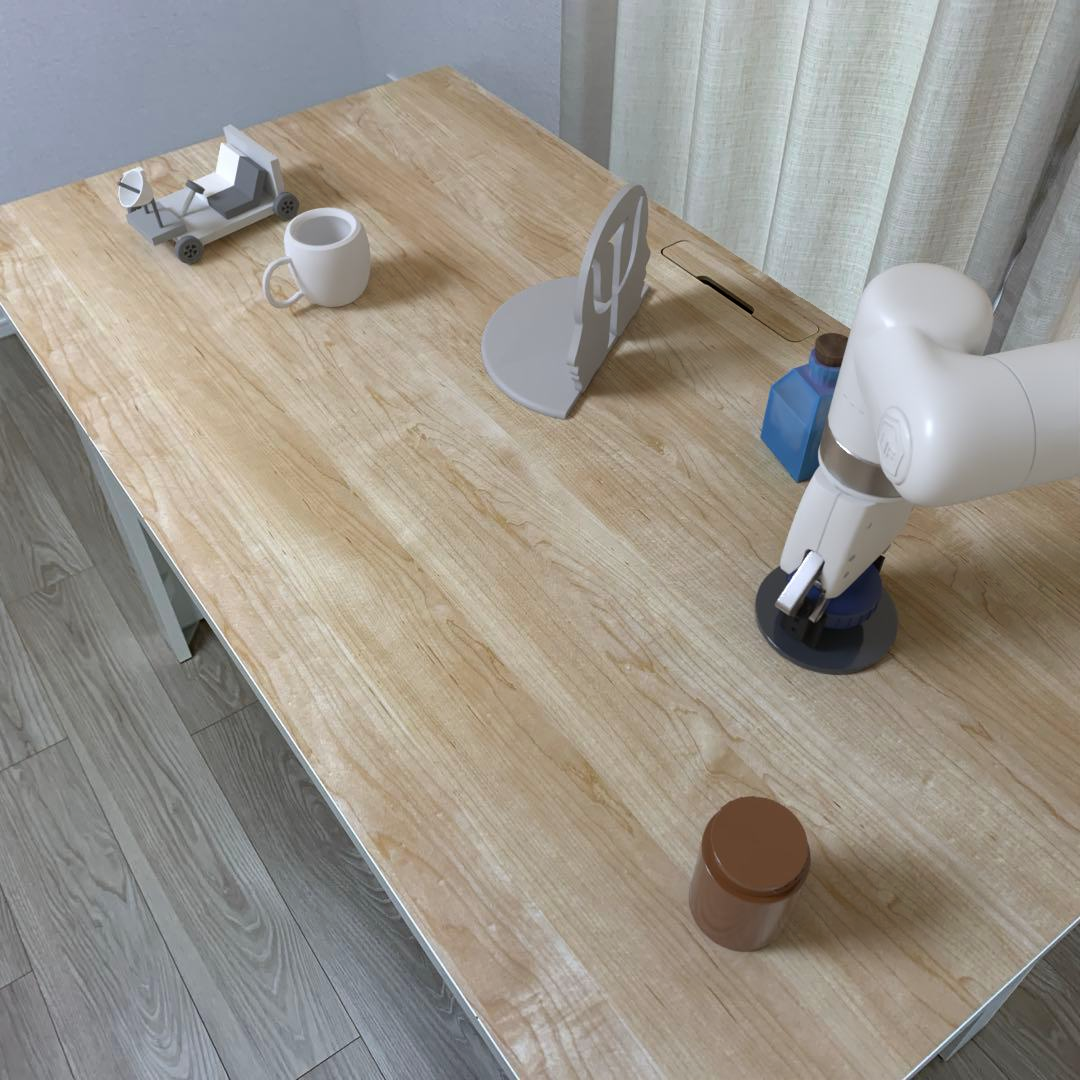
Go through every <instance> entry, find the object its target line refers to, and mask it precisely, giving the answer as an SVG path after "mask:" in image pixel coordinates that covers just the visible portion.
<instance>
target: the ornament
mask: <svg viewBox="0 0 1080 1080" xmlns="http://www.w3.org/2000/svg"><path fill="white" fill-rule="evenodd" d="M648 200H649V199H648V194H647V192H646V190H645V187H644V186H643V185H641V184H638V183H634V182H629V183H626V184H624V185H623V186H622V187H621V188H620V189H619V190H618V191H617V192H616V193H615V194H614V195H613V196H612V198H611V199H610V200H609V202H608V204H607V205H606V207H605V208H604V209H603V211H602V213H601V214H600V215H599V218H598V220H597V222H596V224H595V225H594V228H593V230H592V233H591V235H590V236H589V240H588V242H587V245H586V248H585V252H584V255H583V259H582V262H581V265H580V270H579V273H578V275H570V276H564V277H563V276H562V277H558V278H553V279H549V280H546V281H543V282H539V283H536V284H533V285H531V286H529V287H527V288H524V289H523V290H521V291H519V292H517V293H516V294H514V295H512V296H511V297H509V298H507V300H505V301H504V302H503V303H502V304H501V305H500V306H499V307H498V308H497V309H496V310H495V311H494V312H493V314H492V315H491V316H490V318H489V319H488V321H487V323H486V325H485V327H484V330H483V333H482V336H481V342H480V354H481V355H480V356H481V360H482V363H483V366H484V369H485V372H486V373H487V375H488V377H489V379H490V380H491V381H492V382H493V384H494V385H495V386H496V387H497V388H498V389H499V390H500V391H501V392H502V393H503V394H505V395H506V396H507V397H508V398H510V399H511V400H513V401H514V402H516V403H518V404H519V405H521V406H523V407H525V408H527V409H529V410H530V411H531V410H532V411H534V412H536V413H539V414H542V415H545V416H549V417H550V418H551V417H552V418H555V419H561V420H566V418H567V417H568V415H569V414H570V412H571V411H572V409H573V408H574V406H575V405H576V403H577V402H578V400H579V399H580V397H581V396H582V394H583V393H584V392H586V390H587V388H588V386H589V384H590V383H591V380H592V379H593V378H594V376H595V374H596V373H597V371H598V370H599V369H600V367H601V366H602V365H603V363H604V361H605V359H606V358H607V356H608V355H609V353H610V351H611V349H612V348H613V347H614V345H615V344H616V342H617V341H618V339H619V337H621V336H622V335H623V333H624V331H625V330H626V327H627V326H628V324H629V323H630V321H631V320H632V319H633V317H634V316H635V315H637V313H638V311H639V309H640V306H641V304H642V302H643V300H644V299H645V298H646V296H647V294H648V293H649V292H650V290H651V286H650V285H647V284H645V279H646V276H647V265H648V263H649V261H650V258H651V249H650V247H649V244H648V239H647V234H648V227H649V202H648ZM612 238H613V242H611V239H612Z"/></svg>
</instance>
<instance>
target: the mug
mask: <svg viewBox="0 0 1080 1080" xmlns="http://www.w3.org/2000/svg"><path fill="white" fill-rule="evenodd" d="M290 220H291V221H290V222H289V223H288V224H287V226H286V227H285V231H284V236H283V247H284V253H285V256H282V257H280V258H279V257H278V258H276V259H275V260H273V261H271V262H270V263H269V264H268V265H267V267H266V269H265V270H264V272H263V277H262V283H261V286H262V293H263V296H264V298H265V300H266V302H267V304H269V305H270V306H271V307H273V308H275V309H287V308H290V307H292V306H294V305H295V304H297V303H298V302H299V301H300V300H301V299H302V298H303V297H305V298H306V299H307V300H309V301H310V302H312V303H313V304H315V305H317V306H320V307H323V308H339V307H344V306H348V305H349V304H352V303H354V302H355V301H357V300H358V299H359V298H360V297H361V296H362V294H364V292H365V290H366V288H367V286H368V284H369V280H370V274H371V267H372V266H371V265H372V261H371V260H372V259H371V247H370V242H369V238H368V235H367V231H366V229H365V226H364V224H363V223H362V221H361V219H360V218H359V217H358V216H357V215H356V214H355V213H354V212H351V211H349V210H347V209H344V208H339V207H319V208H313V209H309V210H306V211H303V212H302V213H299V214H298V215H297V216H296V215H295V216H294V217H293V218H292V219H290ZM284 265H287V268H288V270H289V272H290V275H291V277H292V279H293V281H294V283H295V285H296V287H297V289H298V291H296V292H295V293H294V294H293V295H292V296H291V297H290V298H288V299H286V300H283V301H282V300H281V301H278V300H276V299H275V298H274V297H273V294H272V293H271V289H270V284H271V282H270V281H271V277H272V275H273V273H274V271H275V270H277V269H278V268H279V267H280V266H284Z"/></svg>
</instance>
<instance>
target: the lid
mask: <svg viewBox="0 0 1080 1080" xmlns="http://www.w3.org/2000/svg"><path fill="white" fill-rule="evenodd" d="M798 568H799V567H798ZM798 568H797V569H796V570H794V571H793V572H792V573H791V574H787V578H786V581H787V583H786V586H787V585H788V583H789V582H790V580H791V579H792V577H793V576H794V574H795V573H796V571H797V570H798ZM820 575H821V574H820ZM882 586H883V581H882V576H881V574H880V573H879V572H878V570H877V568H876V567H875V566H874V564H873V563H872V564H871V565H870V566H869V567H868V568H867V569H866V570H865V571H864V572H863V573H862V574H861V575H860V576H859V577H858V578H857V579H856V580H855V581H854V582H853V583H852V584H851V585H850V586H849V587H848V588H847V589H846V590H845V591H844V592H842V593H841V594H840V595H839V596H837V597H835V598H832V599H831V600H830V602H829V604H828V606H827V608H826V609H825V611H824V613H826V615H827V616H828V617H827V619H826V622H825V625H824V627H828V628H834V629H843V628H848V629H849V628H850V627H854V626H857V625H860V624H861V623H863V622H864V621H866V620H867V619H868V620H869V618H870V616H871V615H872V614H873V612H875V611H876V608H877V606H878V602H879V600H880V597H881V595H882V594H881V592H882ZM821 593H822V592H821V591H819V590H818V589H816V588H815V587H813V586H812V587H811V589H810V590H809V592H808V593H807V595H806V596H807V597H808V598H810V599H811V600H813V601H814V602H816V603H817V601H818V599H819V597H820V595H821Z"/></svg>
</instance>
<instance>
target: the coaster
mask: <svg viewBox="0 0 1080 1080" xmlns="http://www.w3.org/2000/svg"><path fill="white" fill-rule="evenodd" d="M787 574H788V573H786V572H785V571H784V570H782V569H781V567H780V565H778V566H777V567H775V568H774V569H773V570H772V571H770V572H769V573H768V574H767V575H766V576H765V577H764V578H763V580H762V582H761V583H760V584H759V587H758V590H757V592H756V595H755V599H754V600H755V601H754V617H755V622H756V624H757V627H758V630H759V631H760V633H761V635H762V637H763V639H765V641H766V642H767V644H768V645H769V646H770V647H771V648H772V649H773V650H774V651H775V652H776V653H777V654H778V655H780V656H781V657H782V658H784V659H785V660H787V661H788V662H790V663H792V664H793V665H795V666H797V667H800V668H803V669H805V670H808V671H811V672H815V673H818V674H819V673H820V674H825V675H848V674H853V673H857V672H862V671H865V670H866V669H868V668H872V666H875V665H876V664H878V663H879V662H881V660H882V659H884V658H885V656H887V654H888V653H889V652H890V650H891V649H892V647H893V645H894V643H895V640H896V637H897V635H898V630H899V618H898V611H897V608H896V605H895V603H894V601H893V599H892V597H891V595H890V593H889V592H888V591H887V590H886V588H885V587H884V586H883V585H882V592H881V594H882V595H881V597H880V600H879V602H878V606H877V608H876V611H875V612H873V614H872V615H871V616H870V618H869V620H868V619H867V620H866V621H864V622H863V623H861V624H860V625H857V626H854V627H850V628H849V629H848V628H843V629H834V628H828V627H824V628H823V631H822V634H821V637H820V640H819V643H818V645H817V646H816V647H815V648H814V649H811V648H809V647H807V646H806V645H805V644H803V643H802V642H800V641H796V640H794V639H793V638H792V637H790V636H789V635H788V634H787V633H786V631H785V630H783V629H782V628H781V627H780V621H781V618H782V614H783V611H781V610H780V609H779V608H777V607H776V606H775V603H776V601H777V599H778V598H779V596H780V595H781V594H782V592H783V591H784V589H785V588H786V583H787V581H786V578H787Z"/></svg>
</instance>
